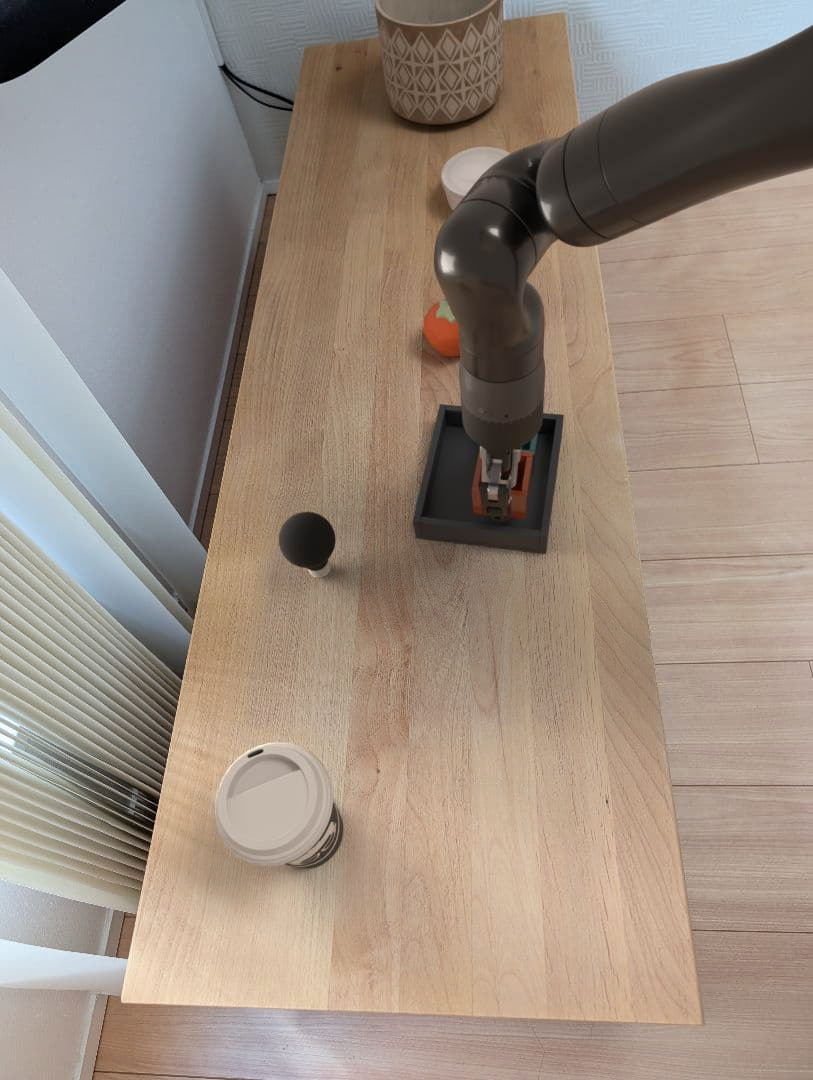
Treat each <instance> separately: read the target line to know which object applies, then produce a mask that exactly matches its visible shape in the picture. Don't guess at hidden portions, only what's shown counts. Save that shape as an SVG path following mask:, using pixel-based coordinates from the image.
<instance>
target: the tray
mask: <svg viewBox="0 0 813 1080" xmlns="http://www.w3.org/2000/svg"><path fill="white" fill-rule="evenodd" d="M436 414H437V415H436V419H435V423H434V427H433V432H432V435H431V441H430V444H429V445H430V446H429V448H428V454H427V458H426V461H425V467H424V469H423V473H422V474H423V475H422V480H421V483H420V486H419V487H420V488H419V491H418V497H417V499H416V503H415V504H416V505H415V509H414V513H413V519H412V525H413V531H414V535H415V538H416V539H420V540H428V541H437V542H444V543H445V542H446V543H455V544H462V545H470V546H476V547H477V546H479V547H487V548H494V549H505V550H510V551H511V550H512V551H520V552H528V553H535V554H536V553H537V554H543V555H545V554H547V550H548V544H549V543H548V542H549V535H550V527H551V520H552V512H553V506H554V505H553V504H554V499H555V498H554V497H555V490H556V483H557V475H558V467H559V460H560V453H561V446H562V445H561V444H562V438H563V429H564V420H565V419H564V418H565V414H562V413H561V414H560V413H548V412H543V422H542V426H541V428H540V436H539V445H538V451H537V457H536V464H535V470H534V476H533V478H532V482H531V489H530V495H529V502H528V508H527V515H526V520H525V519H516V518H510V519H509V520H505V521H497V520H492V519H491V518H490V517H489V515H479V514H474V512H473V499H472V487H473V482H474V477H475V471H476V466H477V461H478V456H479V451H480V445H478V444H477V443H476V442H474V441H473V440H472V439H471V438H470V437H469V436H468V434H467V433H466V431H465V428H464V425H463V419H462V407H461V405H455V404H454V405H453V404H442V403H439V405H438V410H437V413H436Z"/></svg>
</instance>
